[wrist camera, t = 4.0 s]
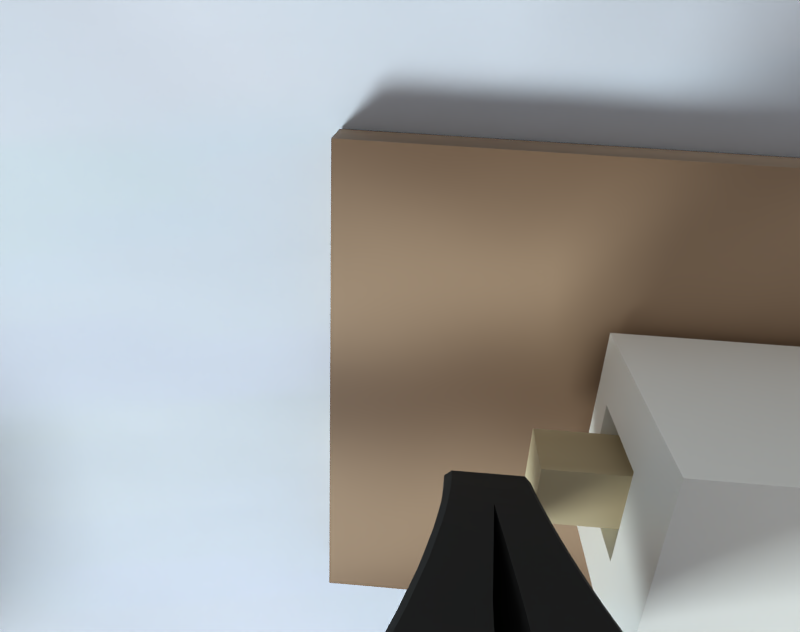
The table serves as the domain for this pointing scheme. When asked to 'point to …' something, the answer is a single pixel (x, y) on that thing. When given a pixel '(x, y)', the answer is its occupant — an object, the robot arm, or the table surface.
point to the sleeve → (701, 486)
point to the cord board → (523, 315)
